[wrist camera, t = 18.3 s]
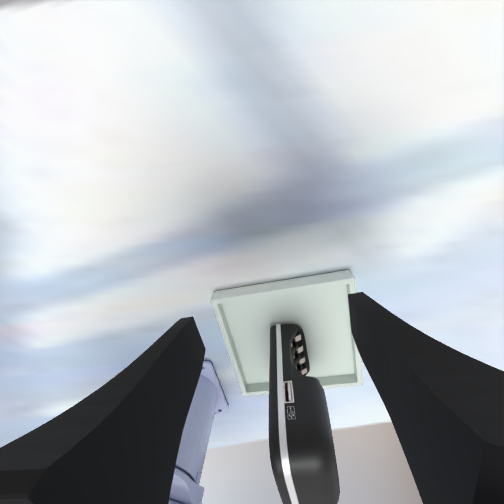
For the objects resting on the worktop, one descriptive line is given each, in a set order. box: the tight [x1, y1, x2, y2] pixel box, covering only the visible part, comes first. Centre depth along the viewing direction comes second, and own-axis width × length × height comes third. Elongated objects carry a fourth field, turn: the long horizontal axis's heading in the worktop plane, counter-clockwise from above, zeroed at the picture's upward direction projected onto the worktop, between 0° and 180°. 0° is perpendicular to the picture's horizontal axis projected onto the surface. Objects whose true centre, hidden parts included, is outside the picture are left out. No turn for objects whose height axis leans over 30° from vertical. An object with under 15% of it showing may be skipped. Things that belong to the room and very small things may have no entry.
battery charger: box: [269, 324, 340, 504], centre depth 19 cm, size 7×4×11 cm, turn 13°
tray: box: [210, 270, 363, 396], centre depth 24 cm, size 12×12×2 cm
